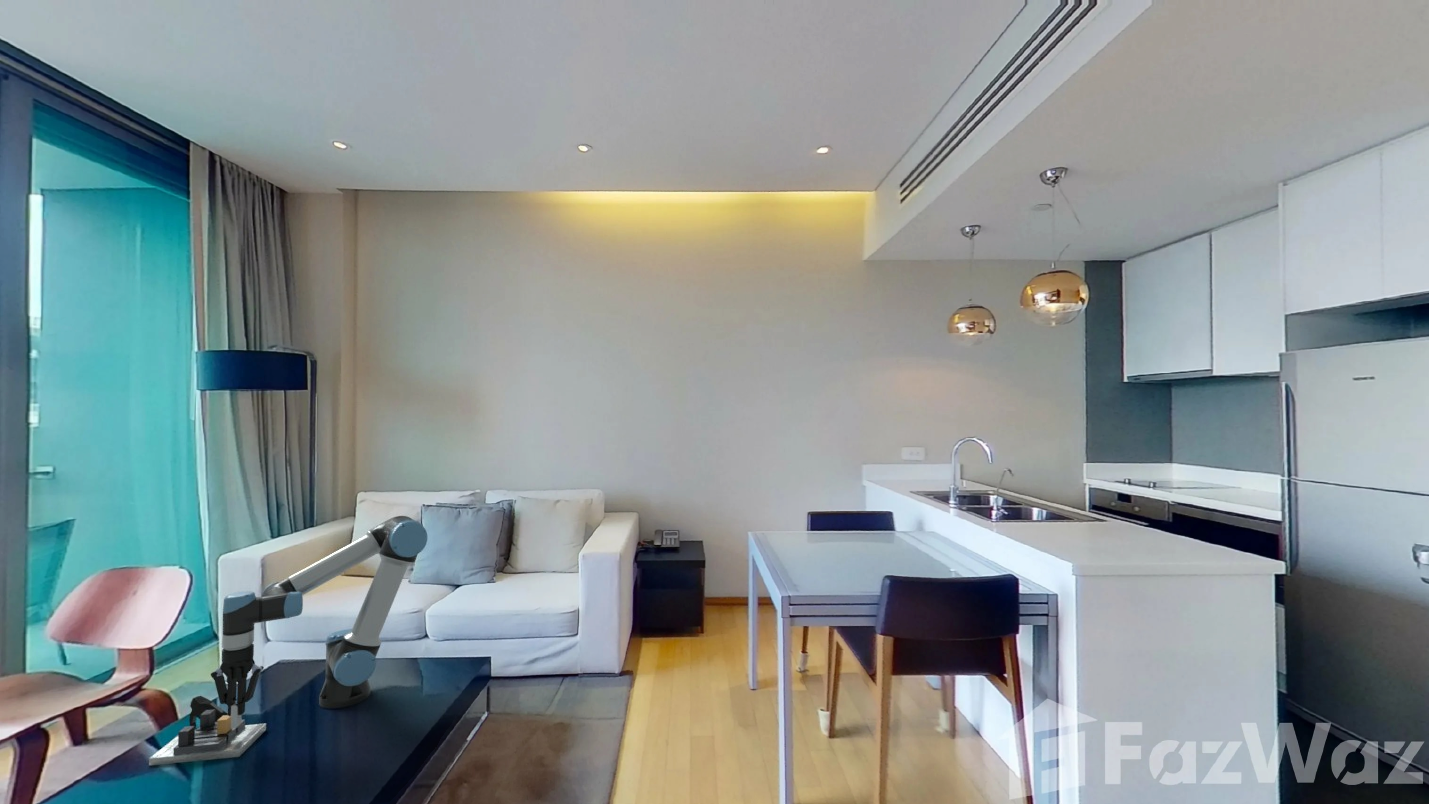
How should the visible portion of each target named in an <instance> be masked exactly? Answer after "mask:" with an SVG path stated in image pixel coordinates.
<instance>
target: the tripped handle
mask: <svg viewBox="0 0 1429 804" xmlns="http://www.w3.org/2000/svg"><path fill="white" fill-rule="evenodd" d="M231 729H232V728H231V716H228V715H223V716H222V717H221V718H220V719H218V720H217V734H225V733H227V732H228V731H230V730H231Z"/></svg>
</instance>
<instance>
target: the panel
mask: <svg viewBox="0 0 1429 804" xmlns="http://www.w3.org/2000/svg"><path fill="white" fill-rule="evenodd" d="M266 731H267V723H256V724H246V719H241V724H240V725H239V726H238V727H237V728H232V729H231V730H230V731H228V732H227V733H225V734H217V722H215V709H213V710H206V711H204V712H203V713H202V714H201V715H200V719H199V726H198V727H197V728H196V727H195V726H190V725H188V726H184V727H183V728H182V729H180V730H179V731H177V732H178V734H177V735H176V736H175V737H174V738H173V739H172V740H170V741H169V742H168V743H166V745H164V746H163V747H162V748H161V749H159V750H158V751H157V752H155V753H154V754H153V755H152V756H150V757H149V759H148V760H149V761H148V762H149V763H148V766H160V765H170V764H178V763H188V762H189V763H190V762H200V761H207V760H218V759H219V760H220V759H221V760H222V759H229V758H239V757H241V755H242V754H244V752H245V751H247V750H248V749H249V748H250V747H251V746H252V745H253V744H254V743H255V742H256V740H257V739H258V738H260V736H261V735H262V734H263V733H264V732H266Z"/></svg>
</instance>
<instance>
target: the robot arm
mask: <svg viewBox="0 0 1429 804" xmlns="http://www.w3.org/2000/svg"><path fill="white" fill-rule="evenodd" d="M427 542H428V532H427V530H426V528H425V526H424V525H423V524H422V523H421V522H419V521H418V520H415V519H414V518H411V517H410V516H408V515H407V516H406V515H398V516H394V517H390V518H388V519H387V520H385V521H383V522H382V523H380V524H378V525H376V526H375V527H373V528H371V529H369V530H367V533H366V534H365V535H364V536H362V537H360V538H358V539H357V540H355V541H353V542H350V543H349V544H348V545H345V546H344V547H342V548H340V549H339V550H336V551H334V552H333V553H331V554H328V555H327V556H325V557H323V558H322V559H320V560H319V561H316V562H314V563H313V564H311V565H309V566H307V567H306V568H303V569H302V570H300V571H298V572H295V573H294V574H292V575H290V576H288V577H287V578H285V579H282V580H281V581H275V582H272V583H270V584H268V585H267V586H265V588H264V590H262V596H257V595H256V592H254V591H251V590H246V591H244V590H243V591H237V592H233V593H230V594H228V595H226V596H225V597H224V599H223V607H222V640H221V648H222V649H221V664H220V666H219V668H217V669H215V670H214V671H212V672H211V673H210V677H211V678H212V679H213V680H214V684H215V688H216V693H217V696H218V699H219V700H218V701H219V703H220V704H221V705H226V706H227V714H228V716H231V728H237V727H238V726H239V725H240V724H241V720H242V715H243V714H244V713H245V712H246V703H248V702H249V701H250V700H251V699H253V698H254V694H255V690H256V688H257V684H258V681H259V677H260V675H261V673H262V671H263V670H264V666H263V665H260V666H259V665H257V664H256V662H255V660H254V656H255V653H254V652H255V650H254V647H255V644H254V641H255V624H259V623H265V622H271V621H276V620H277V621H278V620H283V619H290V618H294V617H295V618H296V617H298V616H300V615H302V612H303V608H304V607H303V606H304V603H303V602H304V599H303V596H304V595H306V594H307V593H309V592H311V591H313V590H315V589H316V588H319V587H321V586H322V585H324V584H326V583H327V582H329V581H331V580H332V579H334V578H336V577H338V576H340V575H342V574H343V573H345V572H347V571H349V570H350V569H352V568H354V567H356V566H358V565H360V564H361V563H363V562H365V561H367V560H368V559H370V558H372V557H374V556H375V555H379V558H380V563H379V565H378V567H377V570H376V572H375V574H374V576H373V579H372V582H371V583H370V586H369V588H368V590H367V593H366V595H365V598H364V600H363V603H362V605H361V607H360V610H359V612H358V614H357V617H356V620H355V622H354V624H353V626H352V628H348V629H342V630H338V631H334V632H331V633H329V634H328V635H327V636H326V642H325V648H326V649H325V680H324V683H323V685H322V689H321V690H320V693H319V698H318V705H319V706H320V707H322V708H324V709H339V708H346V707H347V708H348V707H350V706H354V705H357V704H359V703H361V702H363V701H365V700H366V699H368V698H369V697H370V696H371V684H370V682H369V680H368V679H370V678H371V677H372V675H373V674H374V673H375V670H376V668H377V656H378V652H379V650H380V648H381V645H382V641H381V639H380V635H381V633H382V630H383V628H384V625H385V623H386V620H387V618H388V617H389V616H388V615H389V613H390V611H391V608H392V606H393V603H394V602H395V598H396V597H397V594H398V591H399V589H400V586H401V585H402V584H401V583H402V582H403V579H404V577H405V574H406V572H407V570H408V567H409V566H411V565H413V564H415V561H416V560H417V558H418V554H419V555H420V553H421V552H423V551H424V549H425V547H426V545H427ZM250 672H251V676H250V679H249V681H247V679H248V674H249V673H250ZM224 675H225V676H226V680H225V676H224ZM247 682H249V683H248V685H247ZM226 683H227V684H226Z"/></svg>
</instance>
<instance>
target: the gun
mask: <svg viewBox="0 0 1429 804" xmlns="http://www.w3.org/2000/svg"><path fill="white" fill-rule="evenodd" d="M189 706H190V708H191V711H190V714H189V720H188V721H189V722H188V723H189V726H197V724H196V723H197V722H196V720H197V719H199V720H200V715H201V714H202V713H203V712H204V711H206V710H213V709H215V722H217V720H218V719H220V718H221V717H222V716H223V715H228V712H227V711H225V710H223V708H222V707H220V706H218V705H217V704H216V703H215V702H213V701H212V700H211V699H209V698H206V697H204V696H202V695H199V696H198V695H197V696H195V697H193V698H192V700H191V701H190V705H189Z"/></svg>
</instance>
